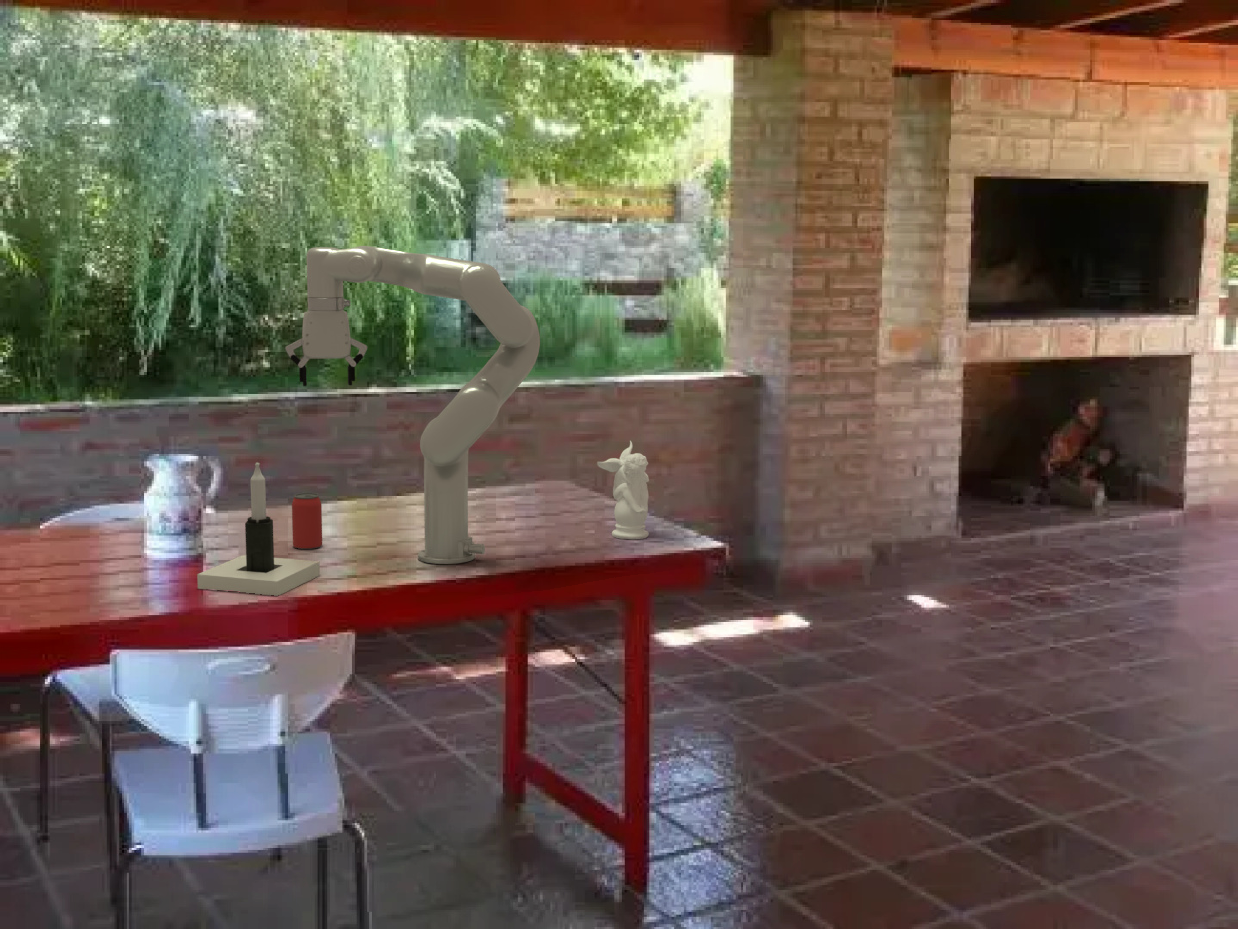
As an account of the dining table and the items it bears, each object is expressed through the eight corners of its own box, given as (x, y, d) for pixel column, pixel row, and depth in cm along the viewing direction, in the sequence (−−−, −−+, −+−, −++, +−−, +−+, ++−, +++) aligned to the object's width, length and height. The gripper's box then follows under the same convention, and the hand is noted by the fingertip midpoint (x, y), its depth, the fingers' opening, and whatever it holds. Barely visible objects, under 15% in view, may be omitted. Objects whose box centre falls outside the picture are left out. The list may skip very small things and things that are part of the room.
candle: (275, 578, 325) (272, 460, 321) (271, 585, 320) (267, 464, 316) (250, 578, 325) (247, 460, 321) (246, 585, 320) (242, 464, 316)
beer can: (315, 551, 351) (314, 498, 349) (288, 549, 352) (286, 497, 350) (326, 544, 357) (325, 493, 355) (299, 543, 358) (298, 491, 356)
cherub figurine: (649, 541, 364) (650, 448, 360) (595, 541, 364) (596, 448, 360) (647, 529, 376) (649, 439, 372) (596, 529, 376) (597, 439, 372)
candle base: (319, 575, 329) (319, 561, 328) (277, 596, 312) (277, 581, 311) (243, 568, 334) (243, 555, 333) (197, 588, 317) (197, 574, 316)
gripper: (365, 303, 340) (366, 382, 343) (283, 304, 336) (286, 383, 339) (367, 306, 333) (369, 386, 336) (284, 307, 329) (286, 388, 332)
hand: (327, 385), depth 338 cm, fingers open, 9 cm apart
